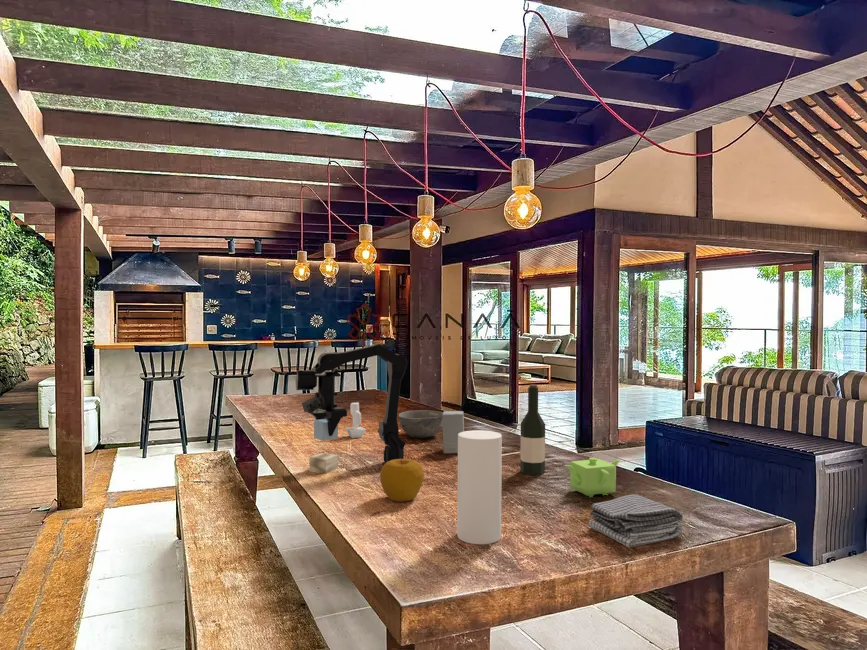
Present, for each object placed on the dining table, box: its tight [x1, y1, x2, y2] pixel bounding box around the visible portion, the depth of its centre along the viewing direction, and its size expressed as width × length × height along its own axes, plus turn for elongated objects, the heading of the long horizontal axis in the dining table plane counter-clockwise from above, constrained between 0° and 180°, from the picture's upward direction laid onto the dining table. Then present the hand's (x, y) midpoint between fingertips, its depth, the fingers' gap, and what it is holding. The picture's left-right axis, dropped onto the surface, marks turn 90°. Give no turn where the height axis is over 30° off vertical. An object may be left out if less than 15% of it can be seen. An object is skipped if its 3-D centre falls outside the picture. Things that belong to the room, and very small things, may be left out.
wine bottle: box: [519, 384, 546, 476], centre depth 204 cm, size 8×8×30 cm
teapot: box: [564, 457, 621, 498], centre depth 181 cm, size 15×13×11 cm
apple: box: [379, 458, 425, 503], centre depth 174 cm, size 13×13×11 cm
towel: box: [588, 493, 683, 548], centre depth 149 cm, size 15×18×8 cm
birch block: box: [308, 452, 339, 475], centre depth 205 cm, size 7×7×5 cm
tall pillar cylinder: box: [456, 429, 503, 545], centre depth 145 cm, size 11×11×25 cm
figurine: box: [345, 402, 367, 439], centre depth 260 cm, size 7×9×15 cm
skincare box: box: [442, 410, 465, 454], centre depth 232 cm, size 8×7×16 cm
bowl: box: [397, 409, 443, 439], centre depth 262 cm, size 21×21×10 cm
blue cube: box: [313, 419, 339, 441], centre depth 205 cm, size 6×6×6 cm
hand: (325, 434), depth 206 cm, fingers closed on blue cube, 6 cm apart
